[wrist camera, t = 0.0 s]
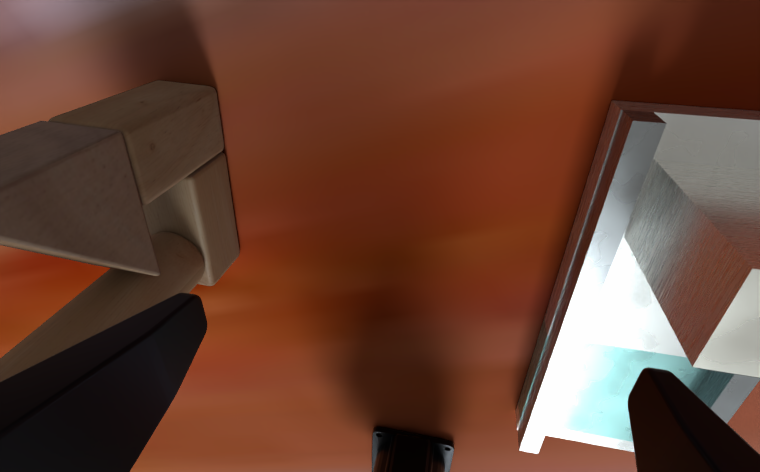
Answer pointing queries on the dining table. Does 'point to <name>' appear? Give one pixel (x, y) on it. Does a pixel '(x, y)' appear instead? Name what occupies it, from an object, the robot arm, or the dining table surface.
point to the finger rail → (653, 275)
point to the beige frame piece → (119, 205)
